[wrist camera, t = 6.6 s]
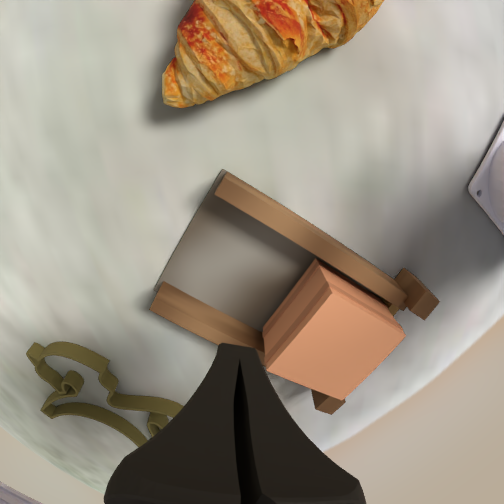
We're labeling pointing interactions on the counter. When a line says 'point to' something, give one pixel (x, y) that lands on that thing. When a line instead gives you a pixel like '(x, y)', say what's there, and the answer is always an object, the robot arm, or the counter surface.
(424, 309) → the brown wooden frame
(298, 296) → the peach rectangular block
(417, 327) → the counter surface
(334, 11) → the croissant
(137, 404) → the cookie cutter
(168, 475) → the robot arm
